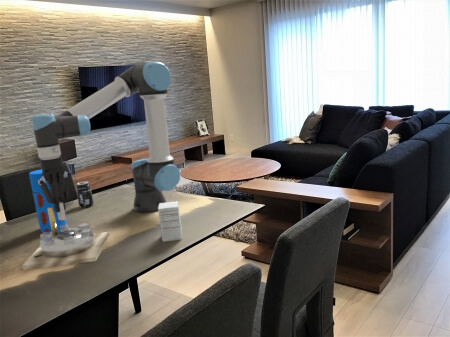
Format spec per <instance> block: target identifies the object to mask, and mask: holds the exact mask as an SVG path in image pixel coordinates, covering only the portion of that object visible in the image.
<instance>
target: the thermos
mask: <svg viewBox="0 0 450 337" xmlns="http://www.w3.org/2000/svg"><path fill="white" fill-rule="evenodd" d="M28 175H29V181H30V185H31V191H32V196H33V201H34V206H35V211H36V215H37V222H38V225H39V229H40V232H41V233H44V232H52V230H51V225H50V219H49V214H48V209H47V208H49V207H53V209H54V214H55V219H56V224H57V230H58V231H59V230H60V226H62V225H67V219H66V220H59V219H58V213H57V212H55V208H54V204H51V203H48V201H47V199H46V197H45V195H44V193H43V191H42V189H41V187H40V185H39V184H38V183H37V180H40V179H41V178H42V169H41V168H40V169H37V170H33V171H30V172H29V174H28ZM45 181H46V180H45ZM46 185H47V186H48V188H49V191H50V187H49V185H48V182H47V181H46ZM50 193H51V192H50ZM65 217H66V215H65Z"/></svg>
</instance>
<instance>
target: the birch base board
mask: <svg viewBox="0 0 450 337" xmlns="http://www.w3.org/2000/svg"><path fill="white" fill-rule="evenodd" d="M93 234H94V240H95V243H94V245H93V246H92V247H90V248H89V249H87V250H85V251H82V252H80V253H77V254H74V255H70V256H64V257H46V256H44V255H43V254H42V250H41V245H40V244H39V246H38V248H37V249H36V250H35V251H34V252H33V253H32V254H31V255H30V257H29V258H28V259H27V260H26V261H25V262H24V263H23V264H22V266H21V267H22V270H23V271H27V270H35V269H42V268H51V267H59V266H67V265H69V266H70V265H76V264H82V263H83V264H84V263H92V262H97V261H98V258H99V256H100V254H101V252H102V250H103V249H104V247H105V245H106V243H107V241H108V240H109V237H110V231H105V232H96V233H95V232H93Z"/></svg>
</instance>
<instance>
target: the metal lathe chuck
mask: <svg viewBox="0 0 450 337" xmlns="http://www.w3.org/2000/svg"><path fill="white" fill-rule="evenodd" d="M47 209H48V214H49V219H50V225H51V230H52V232H41V234H40V235H39V237H40V241H39V246H40V245H41V250H42V254H43V255H44V256H46V257H64V256H70V255H74V254H77V253H80V252H82V251H85V250H87V249H89V248H90V247H92V246H93V245H94V243H95V240H94V230H93V228H91V225H90V223H86V222H84V223H81V224H78V225H77V226H76V227H70V226H69V224H67V223H66V224H67V225H62V226H60V230H57V224H56V219H55V214H54V209H53V207H49V208H47Z"/></svg>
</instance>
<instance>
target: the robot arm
mask: <svg viewBox="0 0 450 337" xmlns="http://www.w3.org/2000/svg"><path fill="white" fill-rule="evenodd" d="M171 84H172V74H171V71H170V69H169V68H168V66H166V64H164V63H162V62H160V61H148V62H143V63H138V64H134V65H132V66H131V67H129V68H128V69H126V70H125V71H124V72H122V73H121V74H119V75H117V76H116V77H115V78H114V80H113V81H112V82H111V83H109V84H107V85H106V86H104V87H103V88H101V89H100V90H98V91H96V92H94V93H92V94H91V95H89V96H88V97H86V98H85V99H82V100H81V101H80V102H78V103H76V104H75V105H73V106H71V107H70V108H68V109H67V110H65V111H64V112H62V113H60V114H58V115H54V114H53V113H45V114H37V115H34V116H32V118H31V122H32V130H33V133H34V134H33V136H34V138H35V142H36V149H37V154H38V158H39V164H40V170H41V169H42V178H41V179H40V180H37V183H38V184H39V185H40V187H41V189H42V191H43V193H44V195H45V197H46V199H47V201H48V203H51V204H54V208H55V212H57V213H58V219H59V220H66V221H67V218H66V217H65V216H66V212H65V211H66V210H67V209H66V208H67V207H66V202H67V200H69V198H70V183H71V182H70V180H71V176H72V172H68V171H66V170H65V168H64V162H63V157H62V156H61V155H62V151H61V146H60V140H63V139H69V138H75V137H83V136H85V135H88V134H89V133H90V132H91V122H90V119H92V118H93V117H95V116H96V115H98V114H99V113H100V114H101V112H103V111H104V110H106V109H107V108H109V107H110V106H112V105H113V104H116V103H117V102H118V101H119V100H122V99H124V97H125V98H128V97H130V96H132V95H134V94H136V93H139V97H140V99H142V100H143V104H144V113H145V123H146V131H147V132H146V133H147V134H146V135H147V142H148V151H149V157H147V158H142V159H137V160H134V161H132V163H131V171H132V179H133V184H134V190H135V191H134V192H135V195H134V198H133V199H134V201H133V211H135V212H137V213H151V212H152V213H153V212H157V211H158V207H159V203H167V199H166V197H165V194H163V192H169V191H172V190H174V189H175V188H176V187H177V186H178V184H179V183H180V180H181V172H180V169H179V168H178V166H177V165H175V158H174V157H173V156H172V155H171V152H170V142H169V131H168V122H167V121H168V120H167V110H166V100H165V99H166V98H167V96H168V92H169V91H168V89H169V86H170V85H171ZM45 180H46V181H47V182H48V185H49V187H50V191H49V188H48V186H47V185H46V181H45ZM50 192H51V193H50Z"/></svg>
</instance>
